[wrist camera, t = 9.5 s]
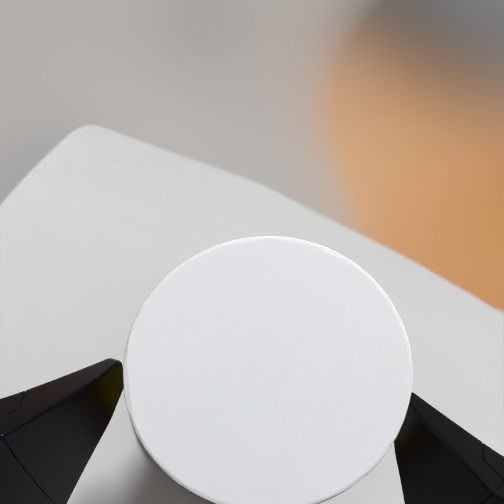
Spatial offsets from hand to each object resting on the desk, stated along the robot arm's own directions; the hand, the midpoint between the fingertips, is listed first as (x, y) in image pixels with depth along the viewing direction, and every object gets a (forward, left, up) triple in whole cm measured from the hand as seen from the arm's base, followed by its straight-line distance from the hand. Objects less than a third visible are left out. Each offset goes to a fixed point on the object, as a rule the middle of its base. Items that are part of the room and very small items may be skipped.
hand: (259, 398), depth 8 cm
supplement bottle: (0, 0, -8) cm, 8 cm away
